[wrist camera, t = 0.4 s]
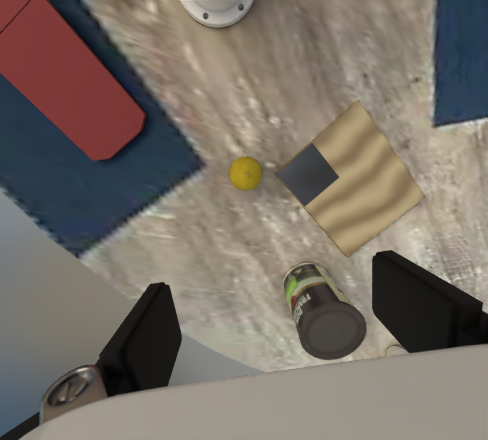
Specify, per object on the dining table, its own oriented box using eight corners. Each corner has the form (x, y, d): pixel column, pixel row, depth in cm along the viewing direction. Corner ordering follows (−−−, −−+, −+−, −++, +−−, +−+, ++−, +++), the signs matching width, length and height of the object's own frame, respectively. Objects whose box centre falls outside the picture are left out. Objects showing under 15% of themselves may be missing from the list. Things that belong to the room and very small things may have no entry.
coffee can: (275, 299, 49) (290, 353, 35) (290, 256, 46) (313, 297, 33) (320, 309, 50) (351, 366, 36) (337, 268, 47) (377, 312, 34)
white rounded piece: (408, 355, 54) (433, 383, 47) (384, 365, 55) (405, 394, 48) (401, 336, 52) (425, 362, 46) (376, 346, 53) (396, 374, 46)
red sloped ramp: (157, 121, 42) (30, -27, 33) (150, 121, 38) (1, -52, 29) (111, 163, 44) (-22, 32, 35) (99, 167, 39) (-57, 18, 30)
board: (275, 173, 42) (276, 174, 40) (354, 102, 39) (359, 99, 38) (344, 254, 47) (348, 257, 45) (419, 195, 44) (426, 196, 42)
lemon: (261, 159, 41) (267, 159, 34) (257, 189, 43) (261, 196, 35) (231, 154, 41) (230, 153, 33) (228, 185, 42) (226, 191, 35)
